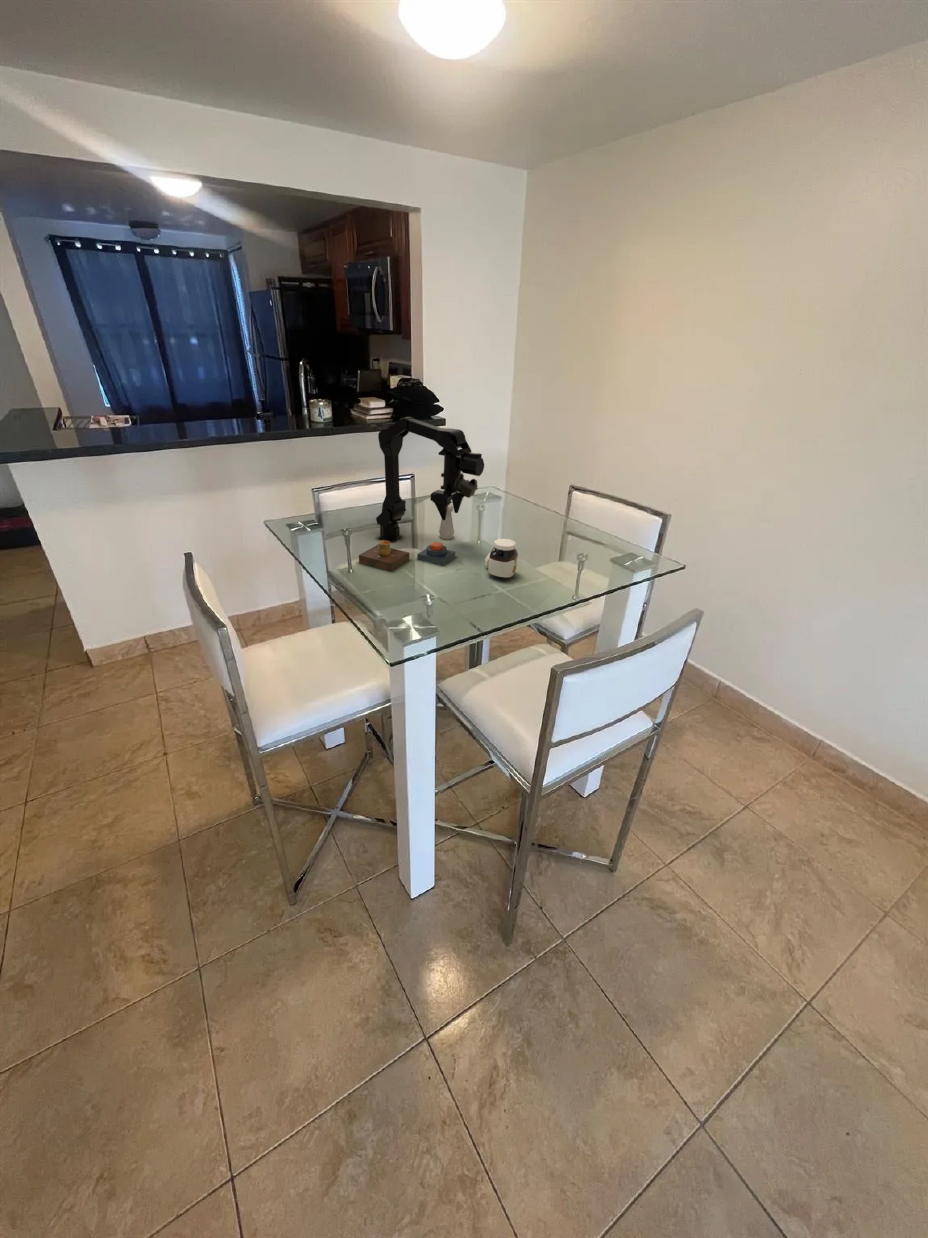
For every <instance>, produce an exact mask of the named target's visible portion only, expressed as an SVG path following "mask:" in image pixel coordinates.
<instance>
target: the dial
mask: <svg viewBox="0 0 928 1238" xmlns="http://www.w3.org/2000/svg"><path fill="white" fill-rule="evenodd" d="M377 545H378V554H379V555H381V556H387V555H390V548H391V541H387V540H382V539H381V540H379V541H378V542H377Z"/></svg>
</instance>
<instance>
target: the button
mask: <svg viewBox="0 0 928 1238" xmlns="http://www.w3.org/2000/svg"><path fill="white" fill-rule="evenodd" d="M430 545H431V549H432V550H442V545H444V544H443V542H439V541H434V542H431V543H430Z"/></svg>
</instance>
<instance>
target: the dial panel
mask: <svg viewBox="0 0 928 1238" xmlns="http://www.w3.org/2000/svg"><path fill="white" fill-rule="evenodd" d="M409 561H410V552H409V551H404V550H401V549H396V548H392V547H390V555H387V556H381V555H379V554H378V544H376V545H374V546H373V547H371V548H369V549H367V550H365V551H363V552H362V553H360V554H358V564H361V565H364V566H368V567H373V568H376V569H380V570H383V571H387V572H394V571H395V570H397V569H399V568H400V567H401V566H403V565H405V564H406V563H408V562H409Z"/></svg>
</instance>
